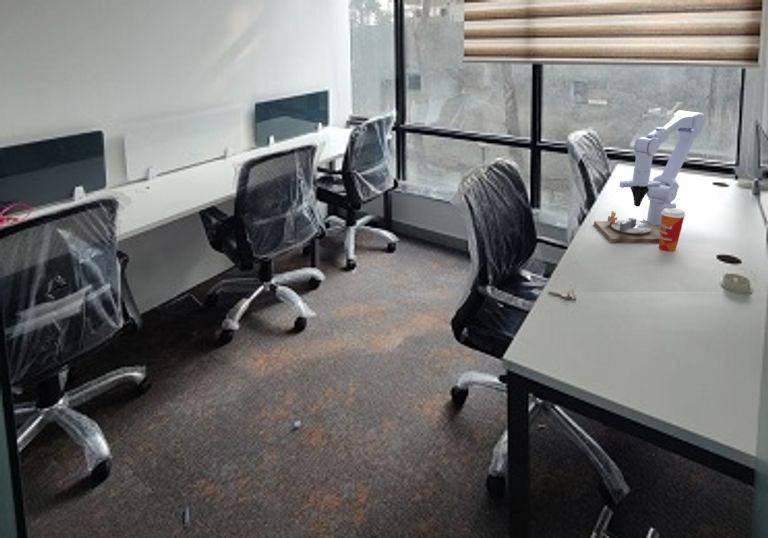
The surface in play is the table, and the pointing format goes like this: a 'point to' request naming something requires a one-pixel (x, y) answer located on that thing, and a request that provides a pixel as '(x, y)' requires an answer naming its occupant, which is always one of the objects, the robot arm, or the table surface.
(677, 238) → the paper cup
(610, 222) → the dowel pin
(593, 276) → the table surface
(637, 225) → the flange plate
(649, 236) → the base board
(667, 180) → the robot arm
